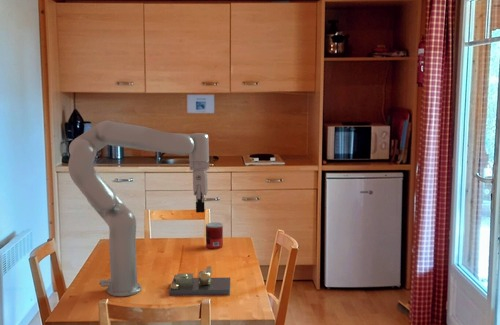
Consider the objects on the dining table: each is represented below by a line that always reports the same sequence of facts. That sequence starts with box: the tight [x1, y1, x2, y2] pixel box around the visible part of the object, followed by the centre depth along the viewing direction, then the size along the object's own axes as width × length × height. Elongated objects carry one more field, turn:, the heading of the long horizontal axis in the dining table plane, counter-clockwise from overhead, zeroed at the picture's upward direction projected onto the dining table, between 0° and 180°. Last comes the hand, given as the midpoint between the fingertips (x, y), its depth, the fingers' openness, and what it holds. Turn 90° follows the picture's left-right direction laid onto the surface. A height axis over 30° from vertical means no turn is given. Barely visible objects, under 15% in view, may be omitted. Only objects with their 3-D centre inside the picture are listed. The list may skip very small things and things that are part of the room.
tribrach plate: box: [168, 273, 231, 297], centre depth 213 cm, size 22×13×6 cm, turn 91°
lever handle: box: [197, 265, 213, 285], centre depth 217 cm, size 12×5×4 cm, turn 173°
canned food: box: [205, 222, 224, 250], centre depth 266 cm, size 8×8×11 cm
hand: (200, 211), depth 220 cm, fingers closed
